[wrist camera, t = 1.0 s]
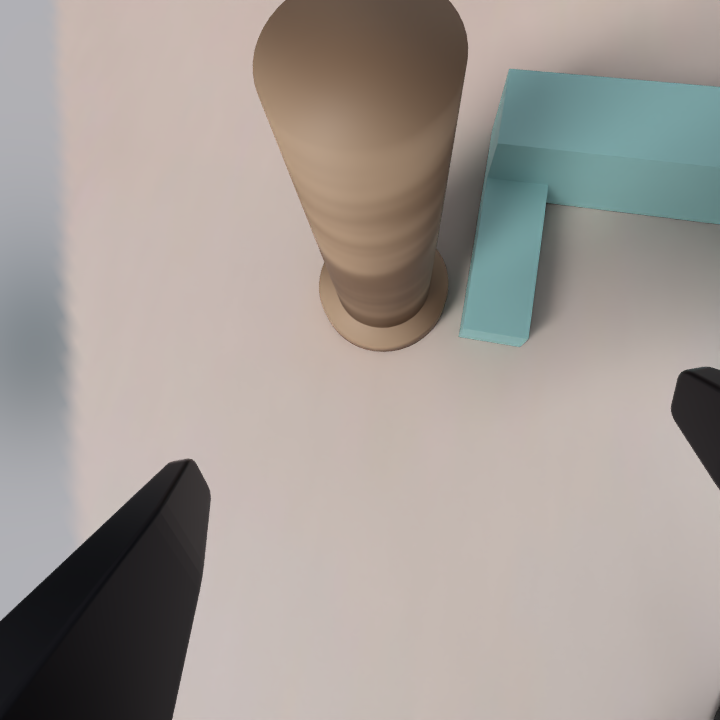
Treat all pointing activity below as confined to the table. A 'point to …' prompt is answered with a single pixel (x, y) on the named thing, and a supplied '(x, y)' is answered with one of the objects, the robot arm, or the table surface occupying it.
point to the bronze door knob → (368, 150)
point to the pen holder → (717, 715)
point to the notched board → (582, 175)
